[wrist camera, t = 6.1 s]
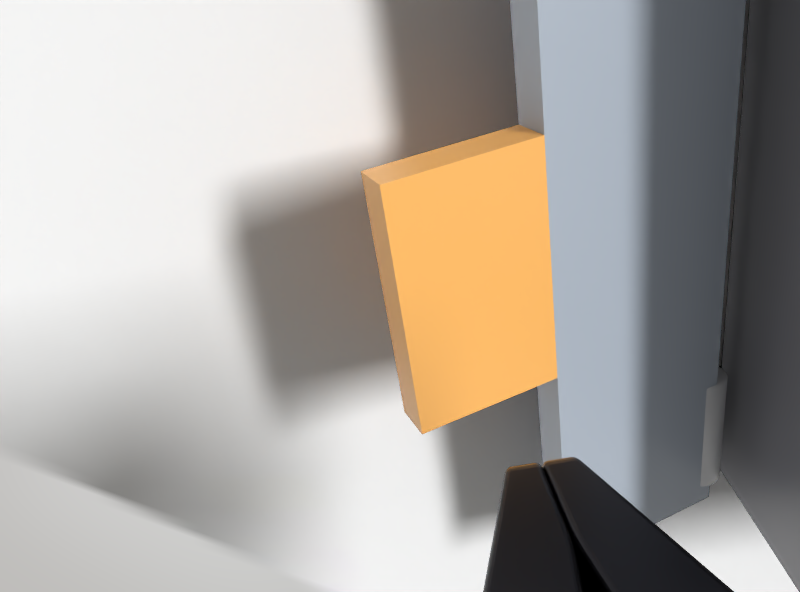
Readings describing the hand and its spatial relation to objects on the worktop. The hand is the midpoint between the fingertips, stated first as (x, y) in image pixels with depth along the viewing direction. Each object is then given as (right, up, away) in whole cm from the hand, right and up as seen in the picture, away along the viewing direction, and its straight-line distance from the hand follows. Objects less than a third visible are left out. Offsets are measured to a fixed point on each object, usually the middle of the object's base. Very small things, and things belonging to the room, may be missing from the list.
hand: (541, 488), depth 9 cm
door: (+5, +4, +6) cm, 9 cm away
